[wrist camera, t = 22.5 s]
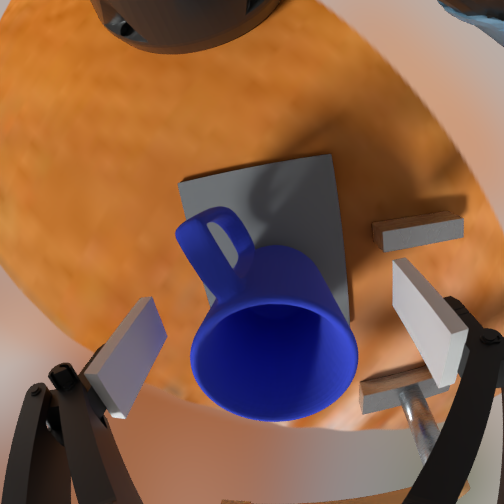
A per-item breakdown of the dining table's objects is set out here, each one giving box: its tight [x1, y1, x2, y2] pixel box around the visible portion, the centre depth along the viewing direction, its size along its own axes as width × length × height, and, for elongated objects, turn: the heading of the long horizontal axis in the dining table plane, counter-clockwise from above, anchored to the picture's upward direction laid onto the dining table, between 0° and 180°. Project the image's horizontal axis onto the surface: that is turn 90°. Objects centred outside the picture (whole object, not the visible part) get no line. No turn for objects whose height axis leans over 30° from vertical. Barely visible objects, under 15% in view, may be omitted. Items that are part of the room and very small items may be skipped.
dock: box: [359, 211, 464, 467], centre depth 18 cm, size 19×10×12 cm, turn 11°
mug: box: [175, 206, 358, 422], centre depth 18 cm, size 8×12×10 cm
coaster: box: [178, 154, 350, 327], centre depth 23 cm, size 14×11×1 cm
